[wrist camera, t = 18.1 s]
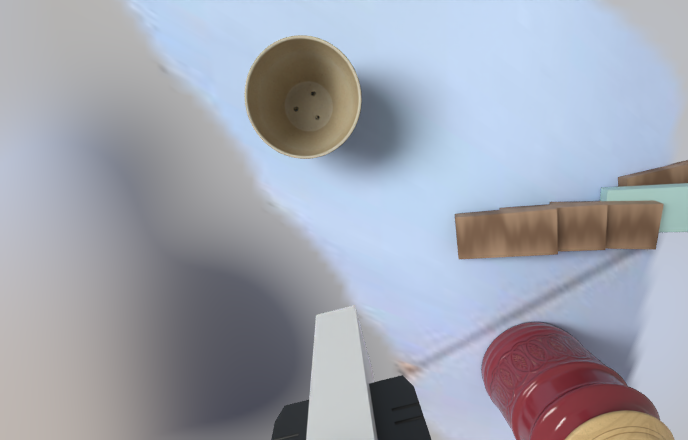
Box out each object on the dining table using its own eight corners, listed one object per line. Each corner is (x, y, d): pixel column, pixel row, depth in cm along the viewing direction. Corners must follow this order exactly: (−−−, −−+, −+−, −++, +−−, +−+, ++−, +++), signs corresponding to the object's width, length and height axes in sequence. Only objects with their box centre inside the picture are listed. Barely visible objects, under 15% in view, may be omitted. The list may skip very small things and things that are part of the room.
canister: (595, 343, 44) (762, 473, 27) (538, 418, 47) (659, 580, 30) (514, 303, 42) (638, 415, 25) (459, 383, 45) (539, 535, 28)
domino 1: (455, 217, 38) (557, 208, 35) (454, 213, 39) (552, 205, 36) (458, 259, 39) (557, 254, 36) (458, 254, 40) (553, 248, 37)
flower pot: (363, 65, 35) (371, 47, 28) (347, 161, 37) (351, 167, 30) (266, 46, 34) (250, 23, 27) (256, 146, 37) (238, 148, 30)
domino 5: (607, 190, 37) (723, 184, 34) (601, 187, 39) (711, 181, 36) (603, 233, 39) (714, 231, 36) (597, 229, 40) (703, 226, 37)
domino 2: (501, 211, 38) (607, 204, 35) (499, 207, 39) (600, 200, 36) (503, 253, 39) (605, 249, 36) (500, 248, 41) (598, 244, 38)
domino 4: (626, 178, 38) (715, 157, 38) (615, 176, 39) (700, 156, 39) (627, 220, 39) (713, 200, 39) (616, 217, 41) (699, 198, 40)
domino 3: (554, 205, 38) (663, 203, 35) (549, 201, 39) (654, 200, 36) (550, 247, 39) (655, 249, 36) (546, 242, 41) (647, 244, 38)
